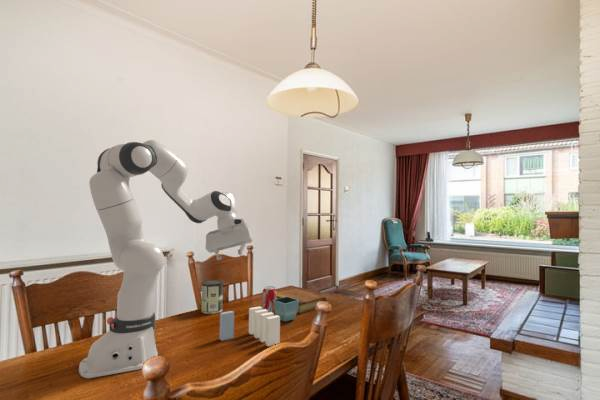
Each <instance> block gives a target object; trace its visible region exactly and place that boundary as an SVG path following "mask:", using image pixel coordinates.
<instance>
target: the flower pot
mask: <svg viewBox="0 0 600 400" xmlns="http://www.w3.org/2000/svg"><path fill="white" fill-rule="evenodd" d="M273 303H274V310H275V312H274V313H275V316H276V315H278V316H280V321H282V322H284V323H285V322H290V321H292V320H294V319H295V318H296V316H297V314H298V313H297V311H298V305H299V300H297V299H294V298H291V297H283V298H278V299H274V300H273Z"/></svg>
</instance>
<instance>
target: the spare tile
mask: <svg viewBox="0 0 600 400" xmlns="http://www.w3.org/2000/svg"><path fill="white" fill-rule="evenodd" d="M234 332H235V311H234V310H229V311H224V312H223V311H222V312H219V340H220V342H221V341H227V340H231V339H234V338H235V333H234Z"/></svg>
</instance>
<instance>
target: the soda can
mask: <svg viewBox="0 0 600 400" xmlns="http://www.w3.org/2000/svg"><path fill="white" fill-rule="evenodd" d="M261 297H262V298H261V307H262V310H263V309H266V310H268V313H269V312H272V313H275V310H274V303H273V300H274V299H277V289H276V287H275V286H274V285H273V286H269V285H268V286H267V285H266V286H264V287H263V289H262V293H261Z"/></svg>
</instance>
